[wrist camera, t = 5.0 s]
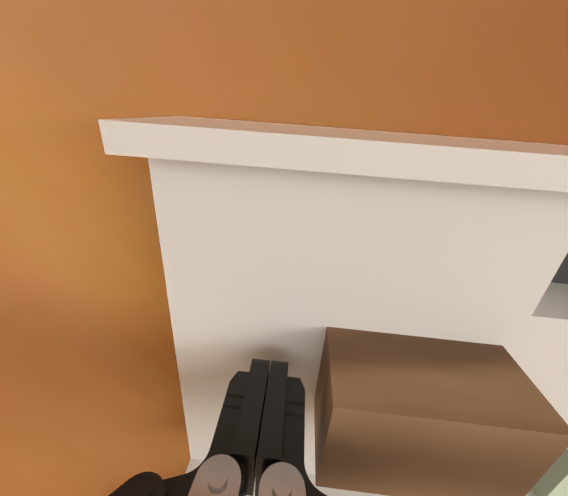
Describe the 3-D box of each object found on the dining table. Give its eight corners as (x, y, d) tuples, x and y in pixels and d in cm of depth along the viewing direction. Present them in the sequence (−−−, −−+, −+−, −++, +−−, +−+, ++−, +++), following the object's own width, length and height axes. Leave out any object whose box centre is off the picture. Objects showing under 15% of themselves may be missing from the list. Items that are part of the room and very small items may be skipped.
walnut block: (326, 326, 12) (333, 407, 8) (502, 345, 11) (577, 436, 8) (314, 398, 14) (315, 485, 10) (463, 416, 13) (510, 511, 10)
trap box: (181, 115, 11) (98, 119, 7) (981, 176, 10) (1522, 229, 6) (207, 417, 20) (177, 507, 15) (643, 470, 18) (750, 585, 14)
